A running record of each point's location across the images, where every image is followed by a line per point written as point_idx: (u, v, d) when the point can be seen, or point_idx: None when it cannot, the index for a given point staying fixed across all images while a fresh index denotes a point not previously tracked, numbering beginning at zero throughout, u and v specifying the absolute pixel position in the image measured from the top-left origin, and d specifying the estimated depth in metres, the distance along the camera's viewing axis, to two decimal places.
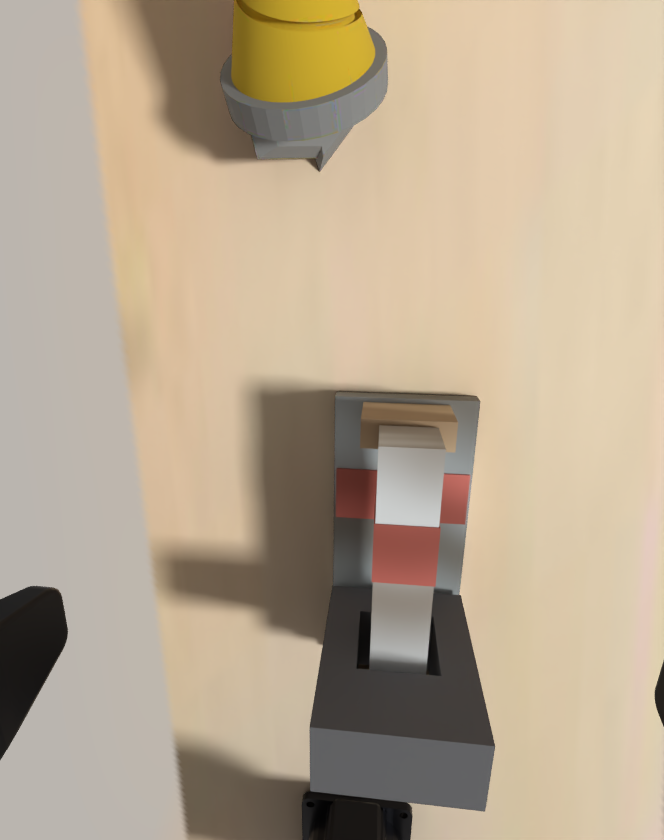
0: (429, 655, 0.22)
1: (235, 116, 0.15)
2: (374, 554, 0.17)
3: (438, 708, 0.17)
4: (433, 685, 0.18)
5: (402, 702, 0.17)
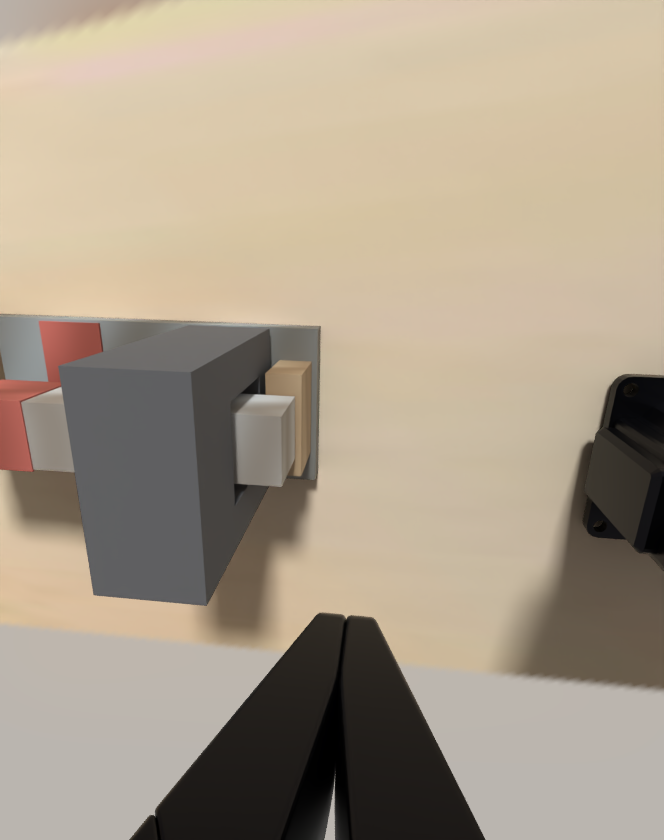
0: None
1: None
2: None
3: None
4: None
5: None
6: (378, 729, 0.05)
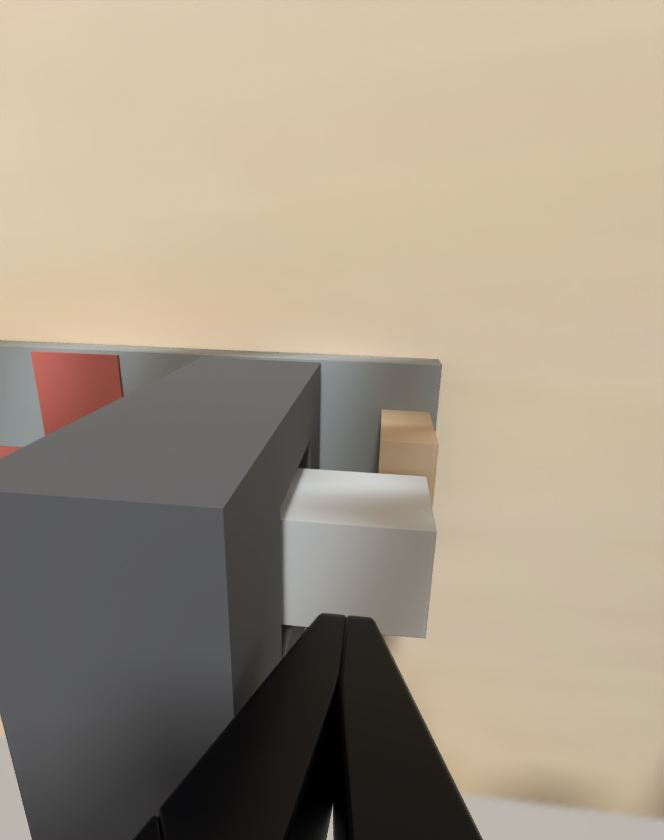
0: None
1: None
2: None
3: None
4: None
5: None
6: (376, 729, 0.05)
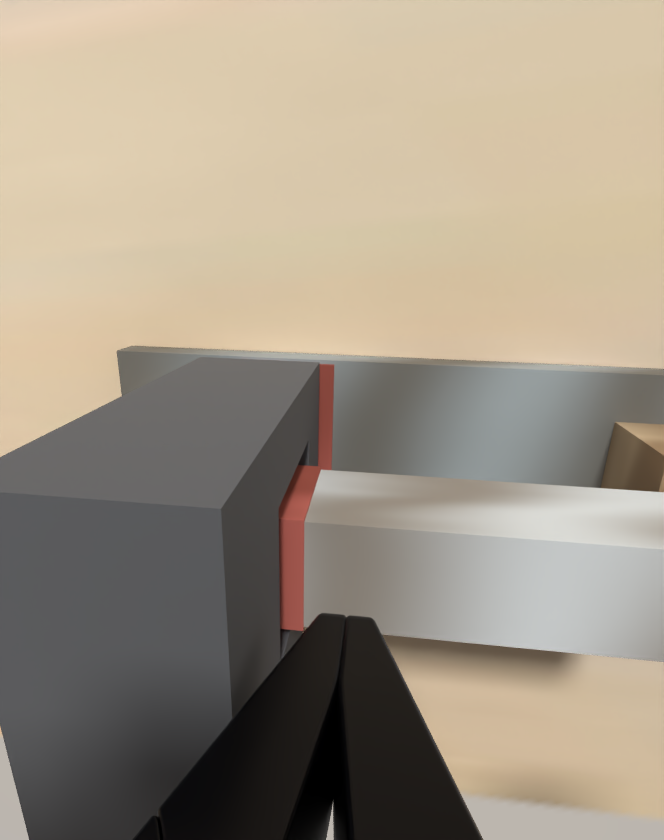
0: None
1: None
2: None
3: None
4: None
5: None
6: (376, 729, 0.05)
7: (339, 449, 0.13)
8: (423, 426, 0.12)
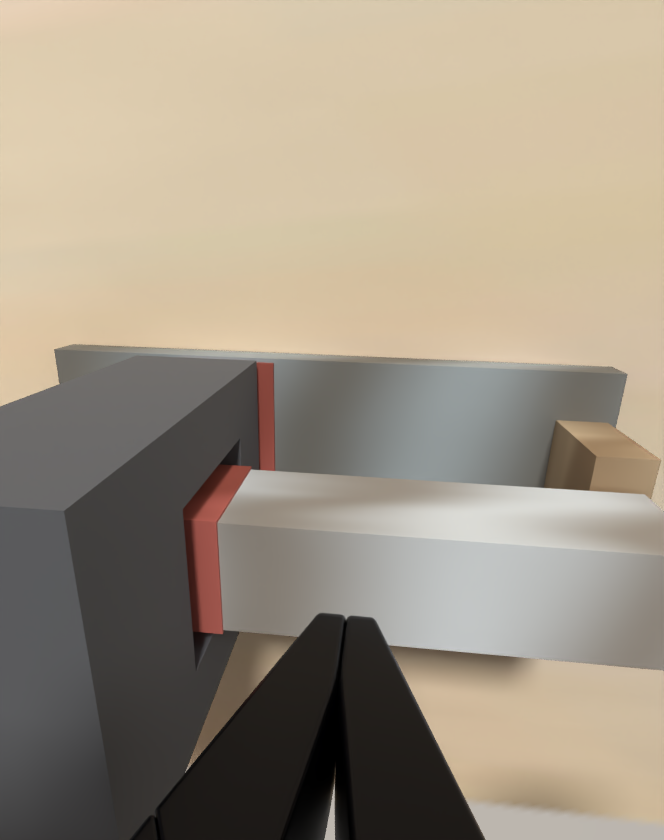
0: None
1: None
2: None
3: None
4: None
5: None
6: (378, 729, 0.05)
7: (282, 449, 0.12)
8: (365, 425, 0.12)
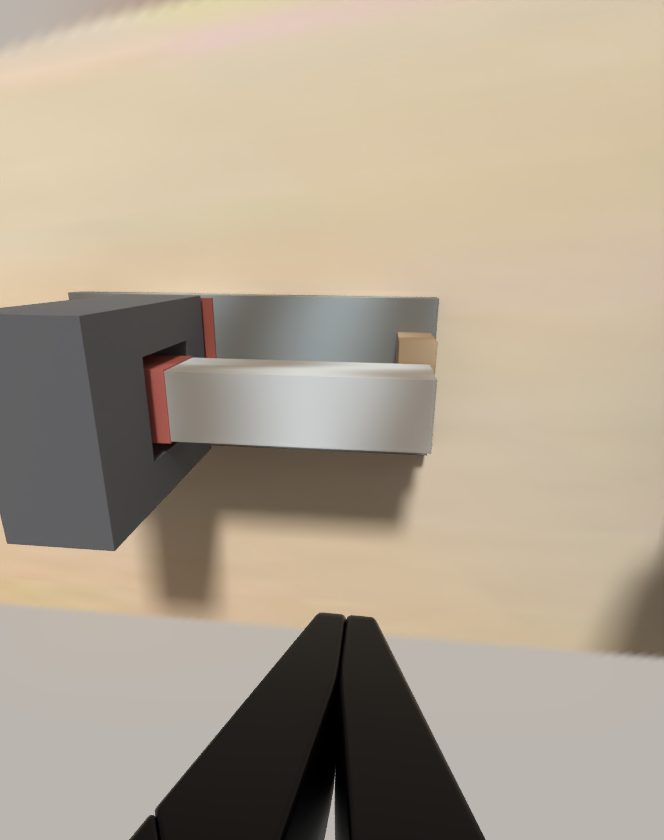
0: None
1: None
2: None
3: None
4: None
5: None
6: (378, 729, 0.05)
7: (221, 358, 0.19)
8: (275, 339, 0.18)
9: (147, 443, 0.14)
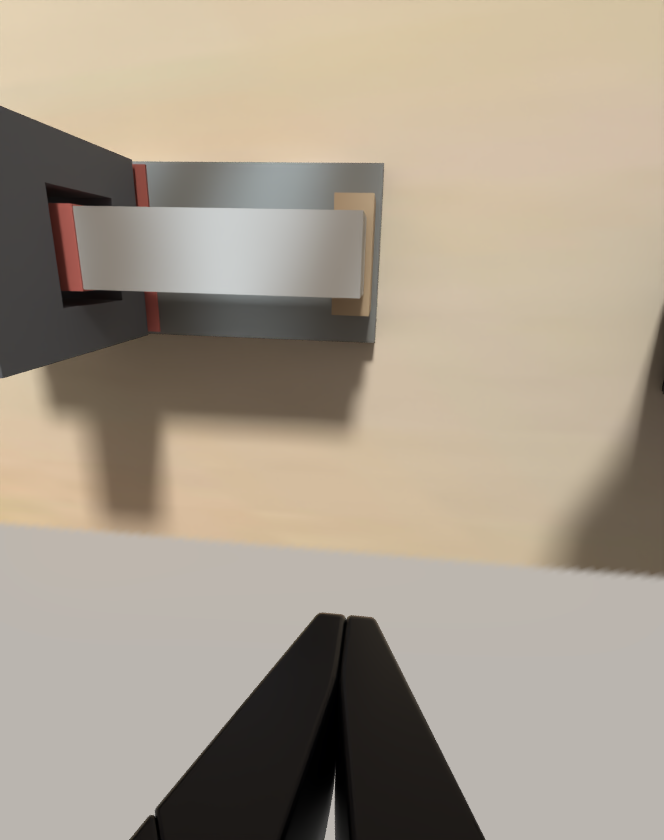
0: (83, 198, 0.15)
1: None
2: None
3: None
4: None
5: None
6: (378, 729, 0.05)
7: None
8: None
9: (53, 282, 0.13)
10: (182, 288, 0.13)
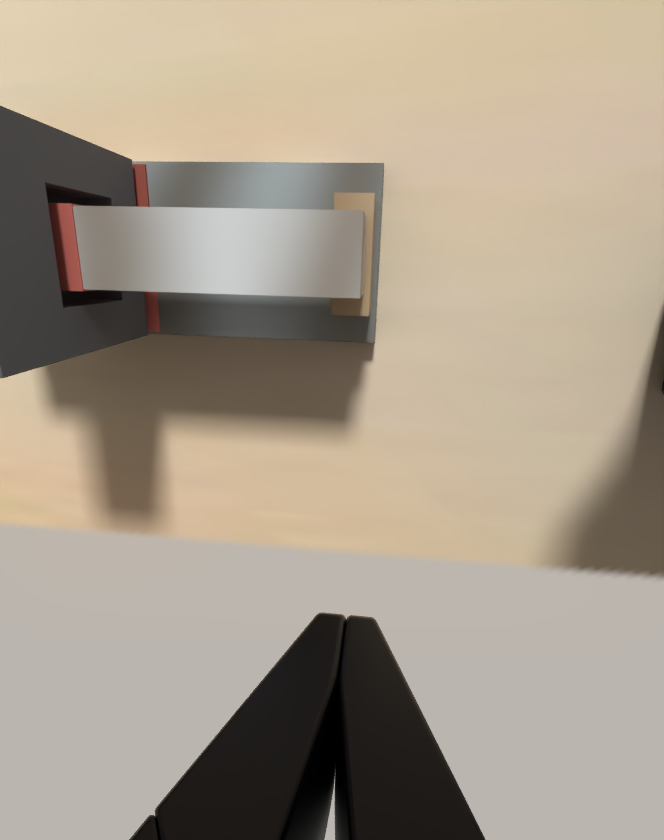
0: (83, 198, 0.15)
1: None
2: None
3: None
4: None
5: None
6: (378, 729, 0.05)
7: None
8: None
9: (53, 282, 0.13)
10: (182, 288, 0.13)
